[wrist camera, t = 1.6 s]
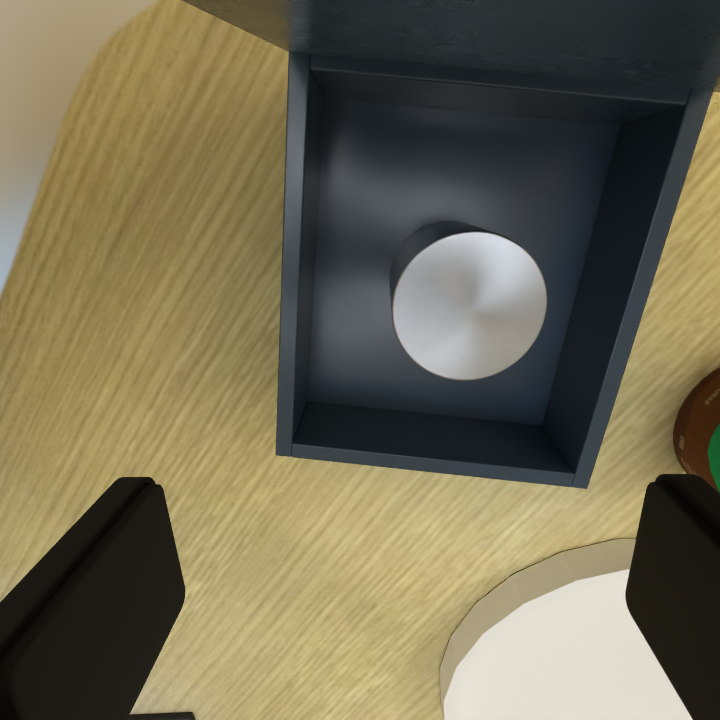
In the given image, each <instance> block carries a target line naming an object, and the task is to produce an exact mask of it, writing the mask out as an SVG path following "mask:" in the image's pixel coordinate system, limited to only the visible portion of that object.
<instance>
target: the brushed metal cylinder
mask: <svg viewBox="0 0 720 720" xmlns="http://www.w3.org/2000/svg"><path fill="white" fill-rule="evenodd" d="M389 282H390V297H391V311H392V321H393V327H394V330H395V333H396V336H397V339H398V341H399V343H400V345H401V346H402V348H403V349H404V351H405V352H406V354H407V355H408V356H409V357H410V358H411V359H412V360H413V361H414V362H415V363H416V364H418V365H419V366H420V367H422V368H423V369H425V370H426V371H428V372H430V373H432V374H434V375H437V376H440V377H443V378H447V379H453V380H475V379H481V378H485V377H489V376H492V375H494V374H497V373H499V372H501V371H503V370H505V369H507V368H508V367H510V366H511V365H513V364H514V363H515V362H517V361H518V360H519V359H520V358H521V357H522V356H523V355H524V354H525V353H526V352H527V351H528V350H529V349H530V347H531V346H532V345H533V343H534V342H535V340H536V338H537V337H538V335H539V332H540V330H541V328H542V325H543V322H544V319H545V314H546V309H547V291H546V286H545V281H544V278H543V275H542V273H541V270H540V268H539V266H538V265H537V263H536V261H535V260H534V259H533V257H532V256H531V255H530V254H529V253H528V252H527V251H526V250H525V249H524V248H523V247H522V246H521V245H519V244H518V243H517V242H515V241H514V240H512V239H510V238H508V237H506V236H504V235H501V234H498V233H495V232H492V231H489V230H485V229H482V228H479V227H476V226H473V225H469V224H466V223H463V222H458V221H441V222H436V223H432V224H429V225H427V226H424V227H423V228H421V229H419V230H417V231H416V232H414V233H413V234H412V235H411V236H409V237H408V238H407V239H406V240H405V241H404V243H403V244H402V245H401V246H400V248H399V249H398V251H397V253H396V255H395V257H394V259H393V262H392V265H391V270H390V278H389Z"/></svg>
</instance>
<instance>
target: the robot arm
mask: <svg viewBox="0 0 720 720" xmlns="http://www.w3.org/2000/svg"><path fill="white" fill-rule="evenodd" d="M184 599H185V585H184V580H183V576H182V572H181V567H180V563H179V558H178V554H177V549H176V545H175V540H174V536H173V531H172V527H171V522H170V518H169V513H168V509H167V504H166V500H165V495H164V491H163V488H162V487H161V485H158V484H155V481H154V480H153V479H152V478H150V477H122V478H119V479H117V480H116V481H115V482H114V483H113V484H112V485H111V486H110V487H109V488H108V489H107V490H106V491H105V492H104V493H103V495H102V496H101V497H100V498H99V499H98V500H97V501H96V502H95V503H94V504H93V505H92V506H91V507H90V508H89V509H88V510H87V511H86V512H85V513H84V515H83V516H82V517H81V518H80V519H79V520H78V521H77V522H76V523H75V524H74V525H73V526H72V527H71V528H70V529H69V530H68V531H67V532H66V534H65V535H64V536H63V537H62V538H61V539H60V540H59V541H58V542H57V543H56V544H55V545H54V546H53V547H52V548H51V549H50V550H49V551H48V553H47V554H46V555H45V556H44V557H43V558H42V559H41V560H40V561H39V562H38V563H37V564H36V565H35V566H34V567H33V568H32V569H31V570H30V572H29V573H28V574H27V575H26V576H25V577H24V578H23V579H22V580H21V581H20V582H19V583H18V584H17V585H16V586H15V587H14V588H13V589H12V591H11V592H10V593H9V594H8V595H7V596H6V597H5V598H4V599H3V600H2V601H1V602H0V720H127V718H128V716H129V714H130V712H131V710H132V708H133V706H134V704H135V702H136V700H137V698H138V696H139V694H140V692H141V690H142V688H143V686H144V684H145V682H146V680H147V678H148V676H149V674H150V672H151V670H152V668H153V666H154V664H155V662H156V660H157V658H158V656H159V653H160V651H161V649H162V647H163V645H164V643H165V641H166V639H167V637H168V635H169V633H170V631H171V629H172V627H173V625H174V623H175V621H176V619H177V617H178V615H179V613H180V611H181V609H182V606H183V603H184ZM625 599H626V604H627V607H628V610H629V612H630V614H631V616H632V618H633V620H634V621H635V623H636V625H637V626H638V628H639V630H640V631H641V633H642V635H643V636H644V638H645V640H646V642H647V643H648V645H649V647H650V648H651V650H652V652H653V653H654V655H655V657H656V658H657V660H658V662H659V664H660V665H661V667H662V669H663V670H664V672H665V674H666V675H667V677H668V679H669V680H670V682H671V684H672V685H673V687H674V689H675V691H676V692H677V694H678V696H679V697H680V699H681V701H682V702H683V704H684V706H685V707H686V709H687V711H688V713H689V714H690V716H691V718H692V719H693V720H720V493H719V492H718V491H717V490H715V489H714V488H713V487H712V486H711V485H710V484H709V483H707V482H706V481H705V480H704V479H703V478H701V477H700V476H698V475H695V474H662V475H659V476H658V477H657V479H656V481H655V482H652V483H650V484H649V485H648V486H647V489H646V494H645V498H644V503H643V508H642V513H641V518H640V523H639V528H638V532H637V537H636V542H635V547H634V552H633V557H632V561H631V566H630V571H629V576H628V581H627V586H626V591H625Z"/></svg>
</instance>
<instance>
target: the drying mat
mask: <svg viewBox="0 0 720 720" xmlns="http://www.w3.org/2000/svg"><path fill="white" fill-rule="evenodd" d="M127 720H195V719H194V716H193V714H192V712H191V713H169V714H148V715H129V716H128V718H127Z"/></svg>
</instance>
